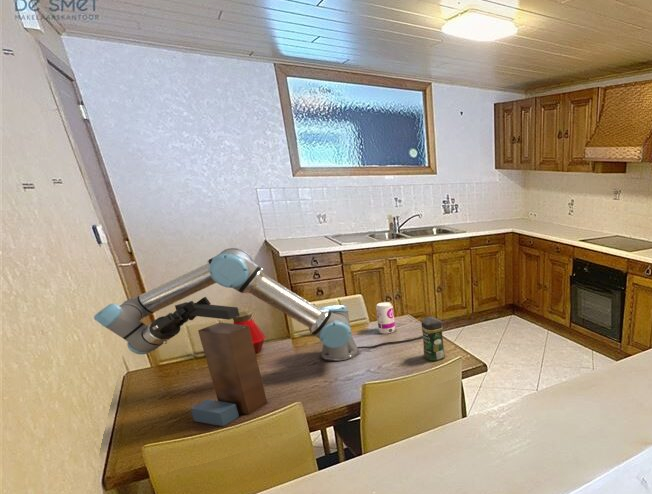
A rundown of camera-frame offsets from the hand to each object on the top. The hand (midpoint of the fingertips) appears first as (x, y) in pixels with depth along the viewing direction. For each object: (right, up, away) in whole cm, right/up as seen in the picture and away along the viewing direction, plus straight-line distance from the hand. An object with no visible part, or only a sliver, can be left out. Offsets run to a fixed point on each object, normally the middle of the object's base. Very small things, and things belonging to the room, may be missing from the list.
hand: (200, 302), depth 141 cm
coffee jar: (+65, -22, +53) cm, 87 cm away
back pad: (+2, -4, +1) cm, 5 cm away
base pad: (+2, -39, +4) cm, 40 cm away
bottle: (-21, -19, +57) cm, 64 cm away
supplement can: (+33, -10, +83) cm, 90 cm away
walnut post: (+6, -36, +12) cm, 39 cm away
